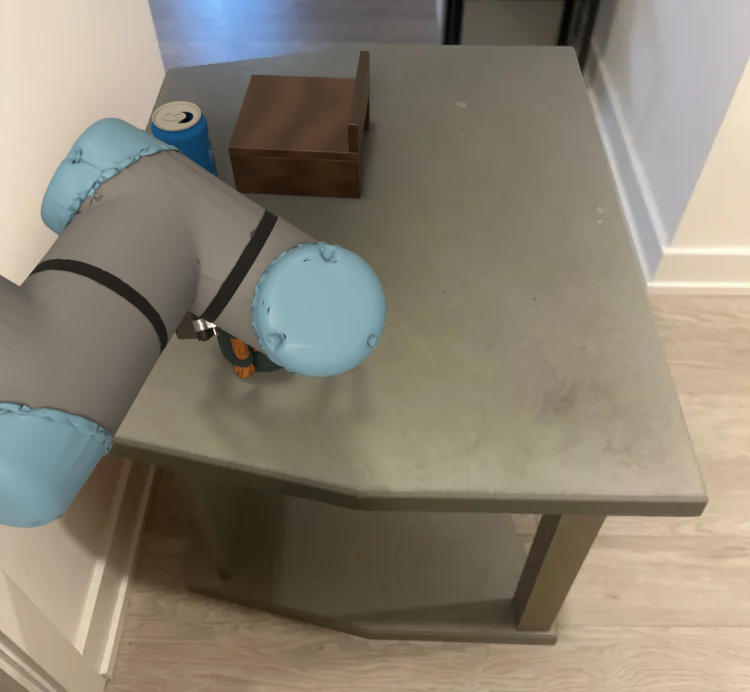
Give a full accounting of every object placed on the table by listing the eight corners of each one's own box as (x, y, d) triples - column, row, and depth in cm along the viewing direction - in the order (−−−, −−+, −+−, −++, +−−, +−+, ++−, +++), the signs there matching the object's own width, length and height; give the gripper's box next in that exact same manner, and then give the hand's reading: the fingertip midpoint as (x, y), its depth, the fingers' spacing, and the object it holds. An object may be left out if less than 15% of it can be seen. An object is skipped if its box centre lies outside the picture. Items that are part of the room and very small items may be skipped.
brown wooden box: (236, 192, 95) (222, 119, 87) (258, 118, 105) (247, 46, 97) (359, 198, 95) (357, 124, 86) (370, 123, 104) (369, 50, 96)
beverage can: (217, 213, 93) (198, 132, 84) (166, 211, 93) (142, 131, 84) (225, 179, 97) (209, 99, 88) (177, 178, 97) (155, 98, 88)
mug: (231, 295, 82) (214, 216, 73) (321, 307, 81) (315, 228, 72) (193, 389, 74) (169, 314, 65) (293, 404, 73) (283, 330, 64)
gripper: (151, 398, 53) (158, 365, 74) (436, 312, 58) (365, 304, 79) (119, 296, 51) (135, 292, 73) (412, 217, 56) (347, 235, 78)
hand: (255, 298), depth 76 cm, fingers closed on mug, 10 cm apart
